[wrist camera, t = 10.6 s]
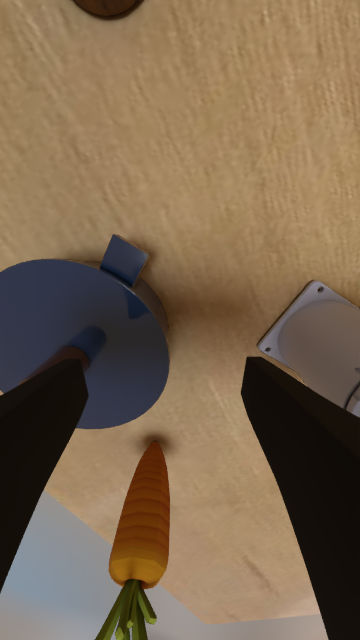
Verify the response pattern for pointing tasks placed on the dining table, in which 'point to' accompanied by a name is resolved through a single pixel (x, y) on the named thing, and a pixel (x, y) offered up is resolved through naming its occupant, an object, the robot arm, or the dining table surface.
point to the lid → (83, 336)
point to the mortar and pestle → (106, 6)
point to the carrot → (140, 547)
